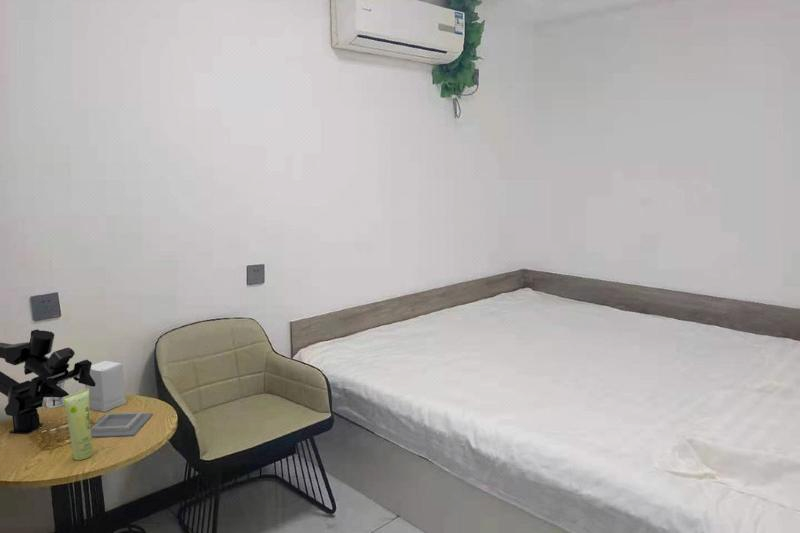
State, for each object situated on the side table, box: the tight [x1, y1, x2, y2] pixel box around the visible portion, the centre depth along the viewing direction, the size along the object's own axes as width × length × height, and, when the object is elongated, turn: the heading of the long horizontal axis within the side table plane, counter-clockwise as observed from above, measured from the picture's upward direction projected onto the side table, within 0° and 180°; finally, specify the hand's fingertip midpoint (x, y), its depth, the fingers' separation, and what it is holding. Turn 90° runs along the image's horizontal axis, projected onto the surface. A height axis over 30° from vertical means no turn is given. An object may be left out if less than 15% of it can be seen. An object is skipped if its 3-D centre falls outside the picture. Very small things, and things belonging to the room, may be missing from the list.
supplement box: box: [84, 360, 127, 413], centre depth 192 cm, size 9×9×15 cm
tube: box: [63, 388, 94, 461], centre depth 156 cm, size 6×5×20 cm
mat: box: [91, 412, 154, 439], centre depth 177 cm, size 16×16×1 cm
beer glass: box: [45, 381, 66, 409], centre depth 194 cm, size 7×7×15 cm
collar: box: [91, 411, 144, 433], centre depth 177 cm, size 11×11×2 cm
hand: (82, 390), depth 165 cm, fingers open, 9 cm apart
